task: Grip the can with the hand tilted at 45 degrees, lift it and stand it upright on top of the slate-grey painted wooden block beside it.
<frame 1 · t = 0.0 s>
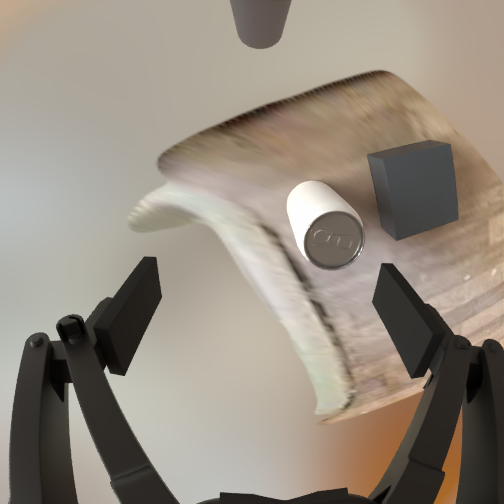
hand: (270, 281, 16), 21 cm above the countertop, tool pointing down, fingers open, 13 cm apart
grey block: (407, 182, 34), on the countertop
can: (311, 204, 36), on the countertop
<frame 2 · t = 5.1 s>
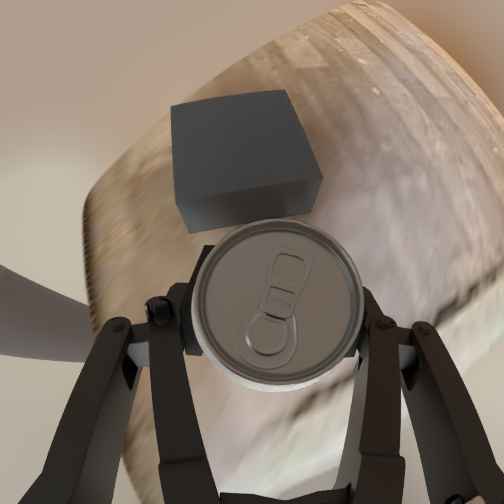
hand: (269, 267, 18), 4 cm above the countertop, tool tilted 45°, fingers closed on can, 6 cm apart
grey block: (240, 172, 25), on the countertop
can: (265, 331, 21), on the countertop, touching gripper
when the fingers open (9 cm above the countertop, at t = 13.0 s): can stays where it is, resting on grey block.
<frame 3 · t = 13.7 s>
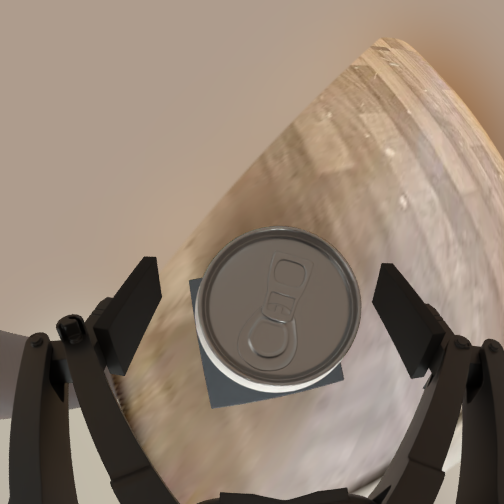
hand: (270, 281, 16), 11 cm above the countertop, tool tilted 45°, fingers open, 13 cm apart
grey block: (263, 336, 25), on the countertop
can: (265, 333, 21), point 5 cm above the countertop, touching grey block
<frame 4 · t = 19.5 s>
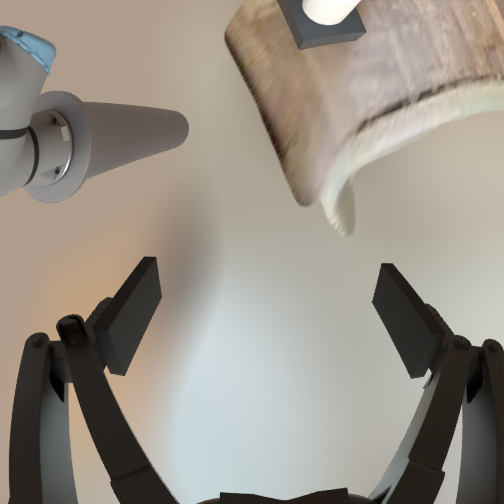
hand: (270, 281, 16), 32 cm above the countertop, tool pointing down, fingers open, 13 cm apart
grey block: (317, 18, 33), on the countertop
can: (323, 8, 29), point 5 cm above the countertop, touching grey block
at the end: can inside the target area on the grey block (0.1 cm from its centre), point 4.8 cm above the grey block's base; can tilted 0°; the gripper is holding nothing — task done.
